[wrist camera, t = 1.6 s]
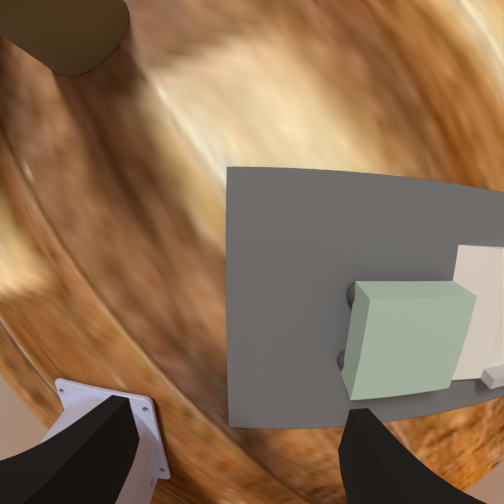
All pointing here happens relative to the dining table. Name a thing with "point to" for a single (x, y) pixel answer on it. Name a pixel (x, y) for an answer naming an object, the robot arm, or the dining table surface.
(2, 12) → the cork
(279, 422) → the dock
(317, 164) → the dining table surface
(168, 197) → the dining table surface
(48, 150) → the dining table surface
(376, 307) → the cart
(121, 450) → the robot arm
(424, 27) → the dining table surface
